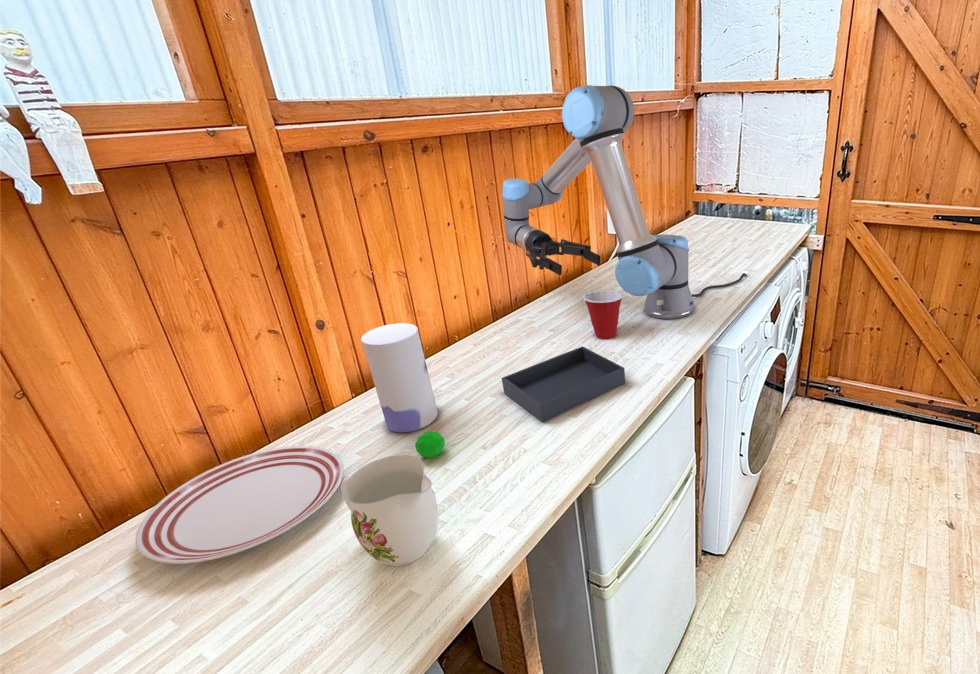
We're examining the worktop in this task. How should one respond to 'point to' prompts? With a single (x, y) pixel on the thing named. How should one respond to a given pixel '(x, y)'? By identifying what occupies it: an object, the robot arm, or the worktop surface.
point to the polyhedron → (429, 444)
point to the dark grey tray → (563, 382)
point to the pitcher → (392, 508)
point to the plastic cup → (604, 312)
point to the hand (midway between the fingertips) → (580, 265)
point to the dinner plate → (239, 504)
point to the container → (400, 376)
